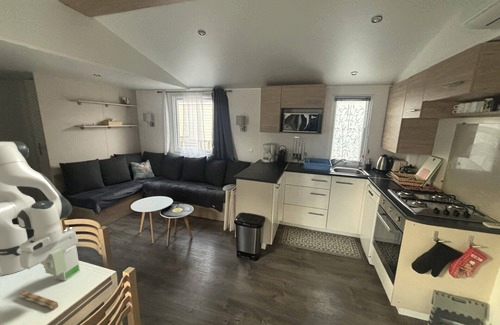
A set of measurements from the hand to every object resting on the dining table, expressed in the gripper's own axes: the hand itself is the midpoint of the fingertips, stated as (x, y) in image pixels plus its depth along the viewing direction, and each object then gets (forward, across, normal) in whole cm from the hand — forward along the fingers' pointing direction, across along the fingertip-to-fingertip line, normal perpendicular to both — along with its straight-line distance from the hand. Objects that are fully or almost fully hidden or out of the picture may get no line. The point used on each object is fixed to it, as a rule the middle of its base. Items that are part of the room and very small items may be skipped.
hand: (54, 263), depth 94 cm
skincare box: (+17, -10, -10) cm, 22 cm away
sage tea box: (+4, 0, 0) cm, 4 cm away
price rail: (+16, +6, -4) cm, 18 cm away
